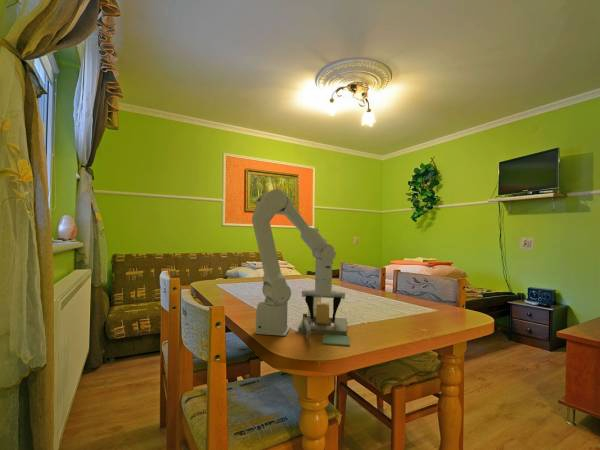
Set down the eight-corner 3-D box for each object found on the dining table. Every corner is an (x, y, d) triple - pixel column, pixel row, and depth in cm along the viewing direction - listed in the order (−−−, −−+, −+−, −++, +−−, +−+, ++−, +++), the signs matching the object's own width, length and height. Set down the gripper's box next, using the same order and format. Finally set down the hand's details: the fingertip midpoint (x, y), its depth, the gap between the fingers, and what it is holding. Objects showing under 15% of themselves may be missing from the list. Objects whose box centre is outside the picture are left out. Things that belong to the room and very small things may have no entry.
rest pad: (321, 344, 81) (321, 342, 81) (323, 335, 88) (323, 334, 88) (349, 346, 80) (349, 344, 80) (349, 337, 87) (349, 336, 87)
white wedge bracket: (301, 313, 103) (308, 290, 107) (314, 321, 110) (321, 299, 114) (309, 315, 101) (316, 291, 105) (322, 323, 108) (329, 301, 111)
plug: (314, 326, 96) (314, 305, 97) (316, 322, 101) (316, 301, 102) (330, 327, 95) (330, 306, 96) (330, 323, 101) (331, 302, 101)
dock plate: (298, 331, 91) (298, 328, 91) (304, 319, 105) (304, 315, 105) (346, 335, 88) (346, 331, 88) (346, 321, 102) (346, 318, 102)
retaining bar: (302, 322, 96) (302, 313, 96) (306, 322, 96) (307, 313, 96) (306, 339, 80) (306, 328, 81) (311, 339, 81) (311, 328, 81)
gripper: (345, 277, 102) (344, 317, 101) (304, 276, 104) (303, 314, 104) (344, 281, 95) (344, 323, 94) (301, 279, 97) (300, 320, 97)
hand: (322, 318), depth 99 cm, fingers open, 7 cm apart
